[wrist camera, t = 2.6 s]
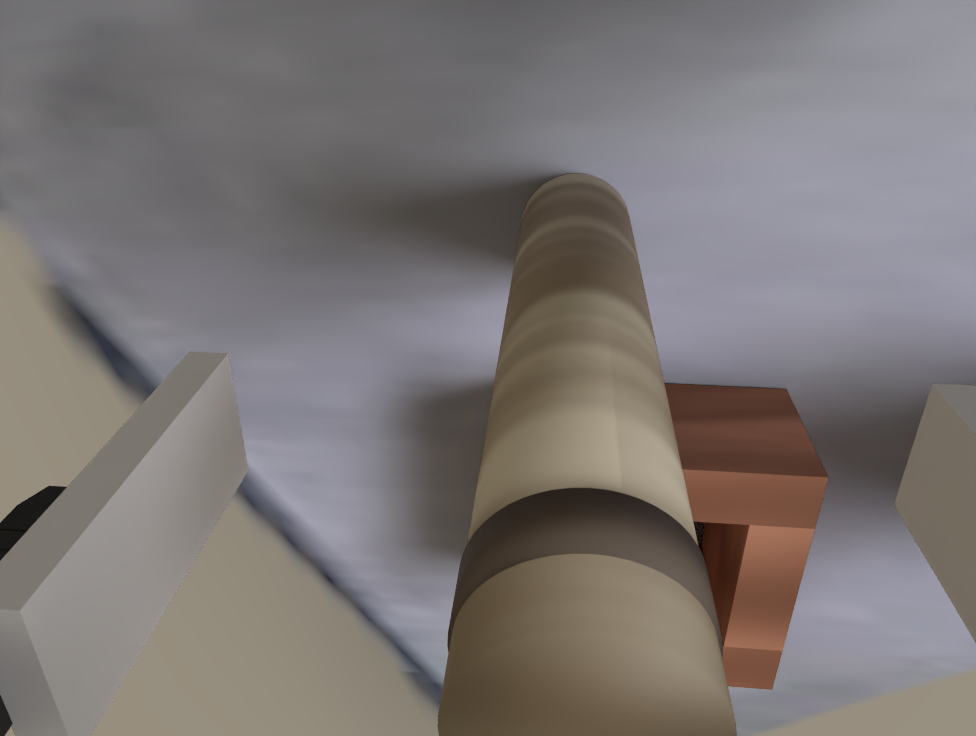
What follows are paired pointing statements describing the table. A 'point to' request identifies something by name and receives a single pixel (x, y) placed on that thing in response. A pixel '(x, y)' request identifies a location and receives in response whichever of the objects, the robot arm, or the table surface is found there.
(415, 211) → the table surface
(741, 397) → the brown hollow square block
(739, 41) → the table surface
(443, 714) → the wooden dowel rod
